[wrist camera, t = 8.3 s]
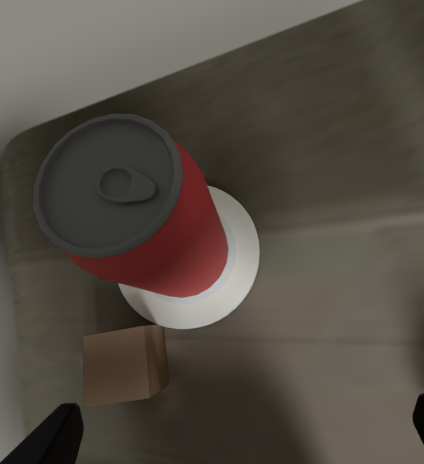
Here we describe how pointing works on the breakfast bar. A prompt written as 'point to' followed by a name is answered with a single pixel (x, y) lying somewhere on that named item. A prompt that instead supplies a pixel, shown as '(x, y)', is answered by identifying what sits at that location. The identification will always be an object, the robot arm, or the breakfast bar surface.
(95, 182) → the beer can
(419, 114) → the breakfast bar surface
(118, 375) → the walnut block
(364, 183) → the breakfast bar surface
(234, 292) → the dish
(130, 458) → the breakfast bar surface
